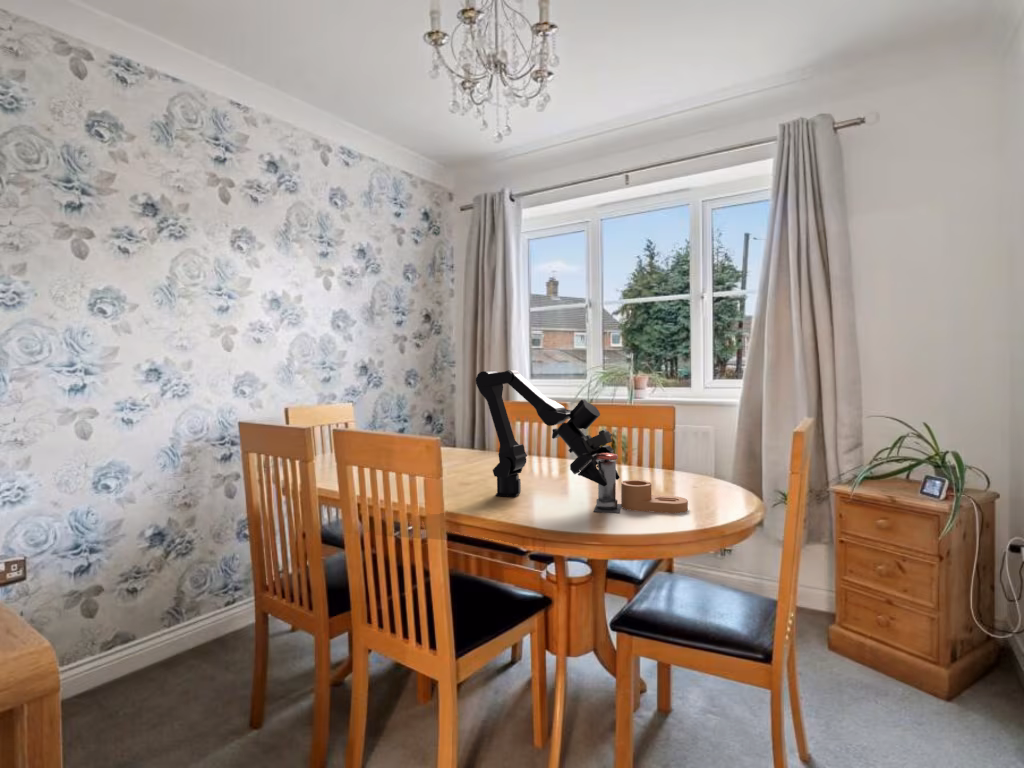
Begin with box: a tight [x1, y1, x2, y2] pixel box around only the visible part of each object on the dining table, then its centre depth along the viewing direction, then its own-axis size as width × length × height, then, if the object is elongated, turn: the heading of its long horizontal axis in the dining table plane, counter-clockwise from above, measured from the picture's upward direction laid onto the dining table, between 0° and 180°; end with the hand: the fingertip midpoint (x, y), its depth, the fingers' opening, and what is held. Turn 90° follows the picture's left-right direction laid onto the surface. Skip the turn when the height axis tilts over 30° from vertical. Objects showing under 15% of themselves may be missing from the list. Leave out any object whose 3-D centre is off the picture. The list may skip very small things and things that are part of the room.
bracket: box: [620, 479, 689, 514], centre depth 158 cm, size 18×8×7 cm, turn 73°
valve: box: [595, 452, 619, 510], centre depth 157 cm, size 6×6×15 cm
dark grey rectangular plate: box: [593, 503, 622, 514], centre depth 158 cm, size 7×9×1 cm
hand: (612, 482), depth 157 cm, fingers open, 9 cm apart
